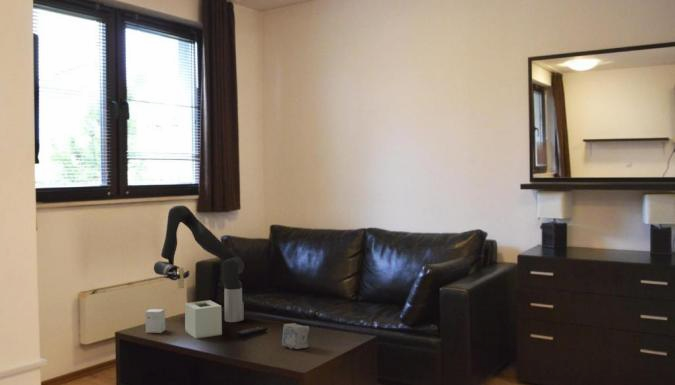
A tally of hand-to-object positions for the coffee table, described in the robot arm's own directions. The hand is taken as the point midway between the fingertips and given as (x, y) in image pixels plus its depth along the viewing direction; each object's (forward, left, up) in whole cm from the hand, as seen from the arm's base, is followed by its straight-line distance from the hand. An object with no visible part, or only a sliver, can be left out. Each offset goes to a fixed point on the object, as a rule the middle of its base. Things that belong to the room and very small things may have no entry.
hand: (182, 276), depth 302 cm
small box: (+13, -3, -27) cm, 30 cm away
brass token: (0, -3, -6) cm, 7 cm away
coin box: (-6, +13, -26) cm, 30 cm away
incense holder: (-33, +59, -27) cm, 73 cm away
